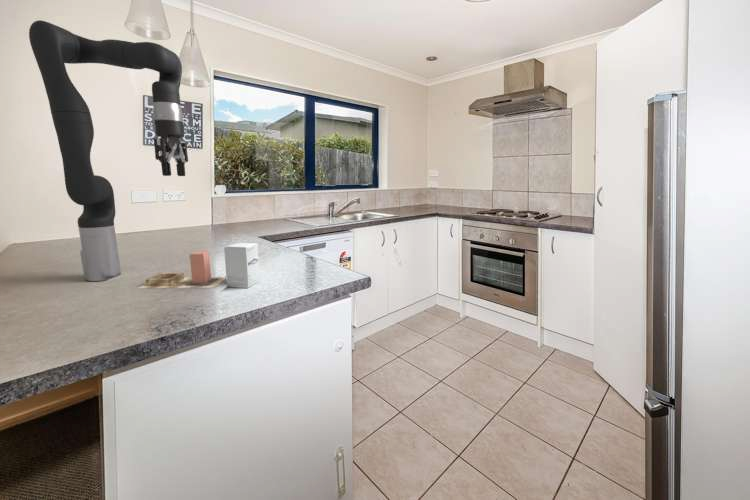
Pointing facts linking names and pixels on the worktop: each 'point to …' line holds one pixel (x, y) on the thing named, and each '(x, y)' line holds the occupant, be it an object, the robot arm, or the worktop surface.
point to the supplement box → (242, 265)
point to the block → (200, 267)
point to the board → (178, 281)
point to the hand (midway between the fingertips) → (174, 175)
